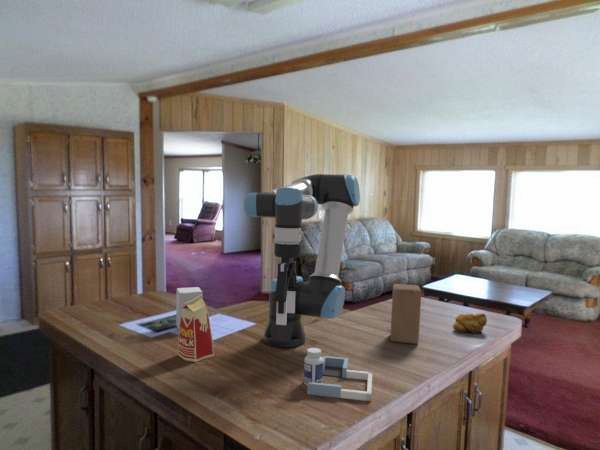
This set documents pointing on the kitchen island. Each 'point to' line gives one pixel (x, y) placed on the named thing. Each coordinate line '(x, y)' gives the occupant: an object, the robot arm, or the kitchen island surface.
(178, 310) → the supplement box
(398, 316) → the wooden block
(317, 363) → the pill bottle
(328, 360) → the blue-grey open frame
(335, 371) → the pit
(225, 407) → the kitchen island surface
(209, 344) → the milk carton
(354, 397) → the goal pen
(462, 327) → the bread roll
